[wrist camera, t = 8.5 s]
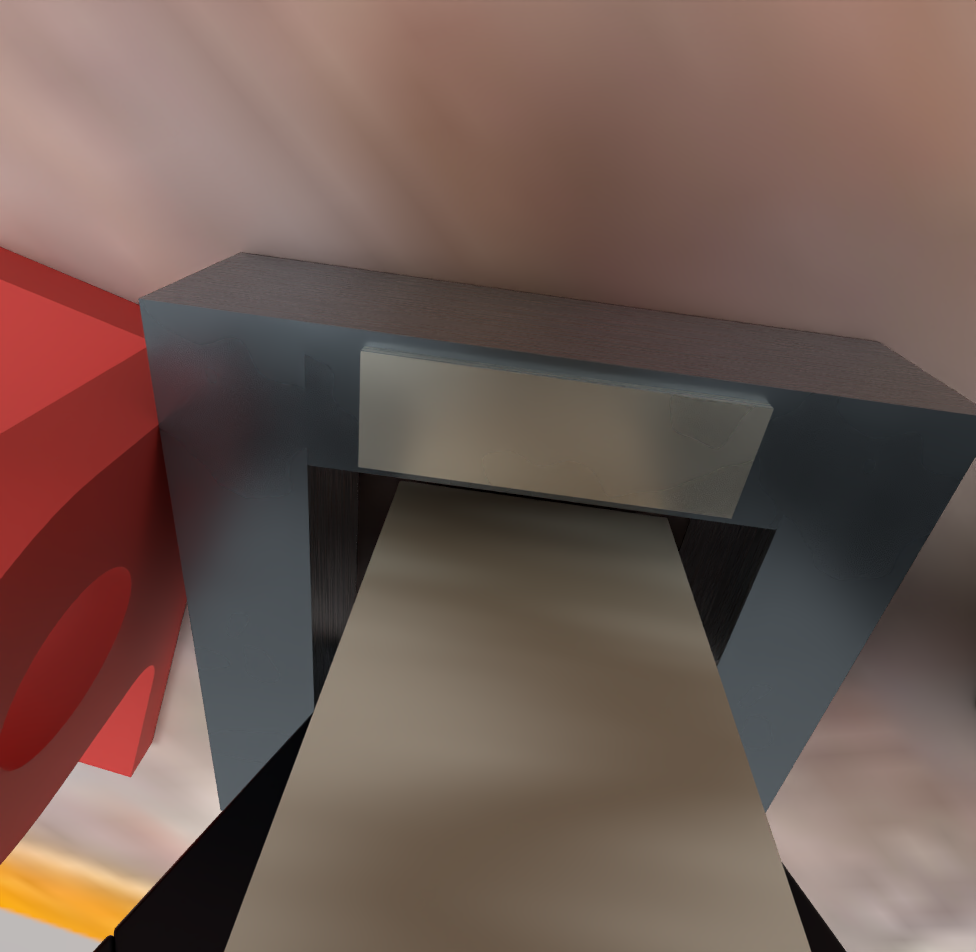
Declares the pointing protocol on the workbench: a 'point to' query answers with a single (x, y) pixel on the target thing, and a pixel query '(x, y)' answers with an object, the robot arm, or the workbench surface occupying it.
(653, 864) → the birch peg
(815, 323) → the workbench surface
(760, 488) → the plate
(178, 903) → the robot arm
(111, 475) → the bracket
